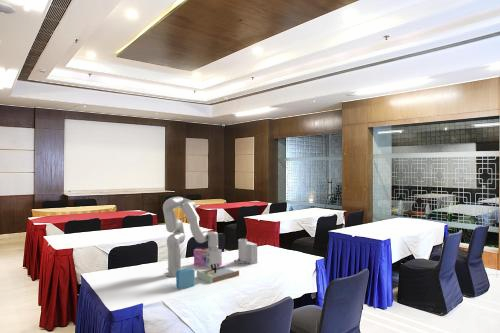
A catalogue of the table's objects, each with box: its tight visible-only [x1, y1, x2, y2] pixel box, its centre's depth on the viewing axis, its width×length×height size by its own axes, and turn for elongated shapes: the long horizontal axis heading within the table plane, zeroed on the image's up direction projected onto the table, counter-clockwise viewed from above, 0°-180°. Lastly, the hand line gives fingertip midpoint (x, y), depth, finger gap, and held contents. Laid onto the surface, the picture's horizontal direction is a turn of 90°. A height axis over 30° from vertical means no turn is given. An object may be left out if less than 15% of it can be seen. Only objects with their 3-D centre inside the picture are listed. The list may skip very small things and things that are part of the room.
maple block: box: [203, 268, 215, 277], centre depth 259 cm, size 5×6×4 cm
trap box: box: [196, 265, 240, 284], centre depth 266 cm, size 19×26×5 cm
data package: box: [175, 267, 196, 290], centre depth 243 cm, size 12×4×12 cm, turn 127°
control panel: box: [233, 238, 258, 265], centre depth 303 cm, size 16×19×20 cm
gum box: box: [193, 247, 223, 268], centre depth 297 cm, size 24×8×14 cm, turn 78°
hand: (214, 272), depth 263 cm, fingers closed
